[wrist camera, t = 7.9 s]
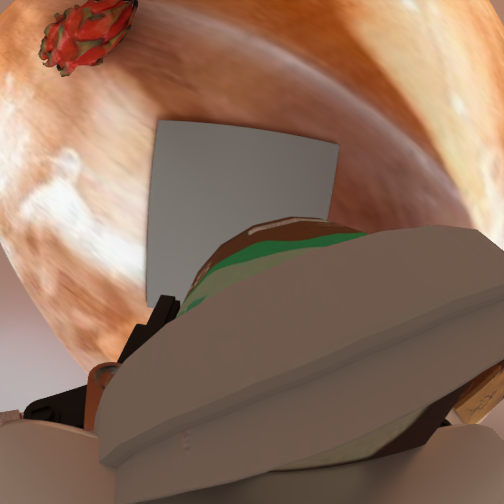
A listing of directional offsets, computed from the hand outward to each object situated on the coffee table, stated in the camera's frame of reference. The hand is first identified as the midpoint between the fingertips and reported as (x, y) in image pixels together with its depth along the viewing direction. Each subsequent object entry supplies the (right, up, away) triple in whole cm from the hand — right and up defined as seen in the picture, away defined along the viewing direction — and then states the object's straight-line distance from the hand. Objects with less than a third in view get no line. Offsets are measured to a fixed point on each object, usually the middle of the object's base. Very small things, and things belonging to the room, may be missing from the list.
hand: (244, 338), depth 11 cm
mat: (-1, +6, +18) cm, 19 cm away
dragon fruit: (-16, +27, +11) cm, 33 cm away
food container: (-1, +1, +2) cm, 2 cm away
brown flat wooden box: (+50, -28, +33) cm, 66 cm away
